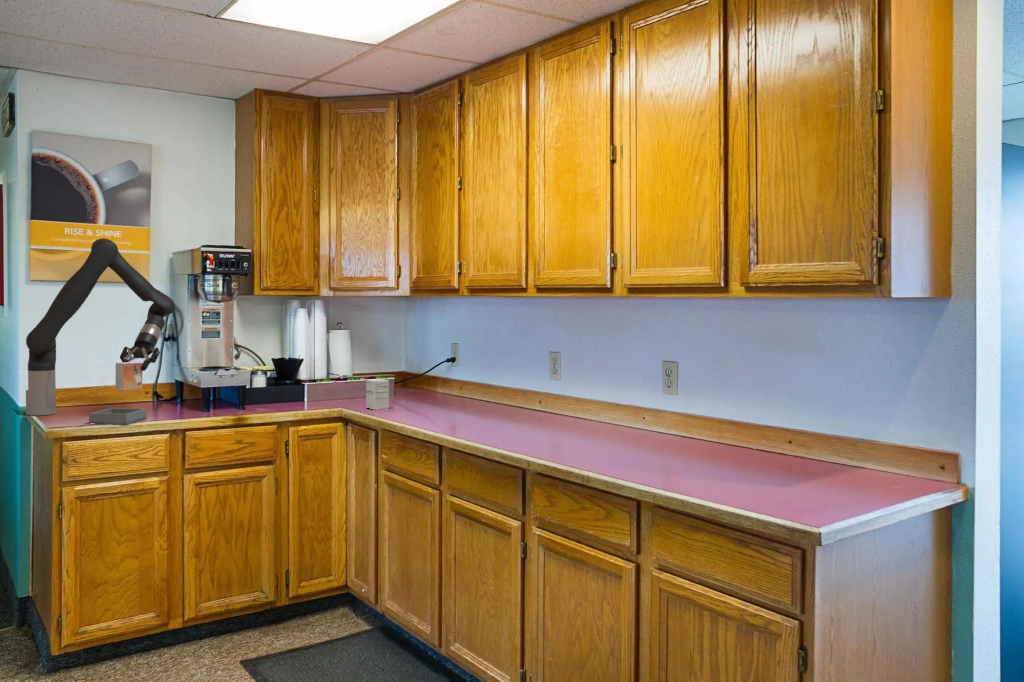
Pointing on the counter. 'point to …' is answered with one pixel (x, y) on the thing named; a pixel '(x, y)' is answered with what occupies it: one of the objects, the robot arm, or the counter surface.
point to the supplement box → (377, 393)
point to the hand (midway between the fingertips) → (132, 369)
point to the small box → (128, 376)
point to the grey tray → (117, 416)
